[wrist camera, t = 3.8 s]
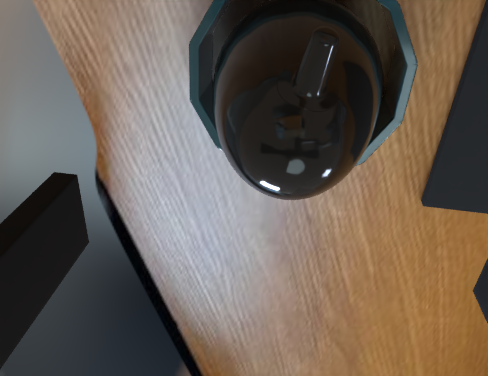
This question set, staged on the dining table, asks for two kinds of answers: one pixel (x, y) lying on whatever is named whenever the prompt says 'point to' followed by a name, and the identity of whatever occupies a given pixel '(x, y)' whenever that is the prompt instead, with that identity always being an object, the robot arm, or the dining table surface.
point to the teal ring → (391, 101)
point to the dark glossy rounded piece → (297, 96)
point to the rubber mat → (465, 138)
